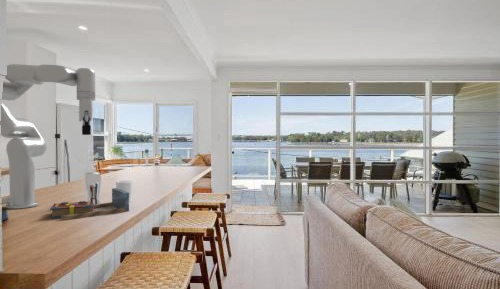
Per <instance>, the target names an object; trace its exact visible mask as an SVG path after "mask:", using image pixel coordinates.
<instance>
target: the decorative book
mask: <svg viewBox="0 0 500 289" xmlns="http://www.w3.org/2000/svg"><path fill="white" fill-rule="evenodd" d="M93 206H94V205H93V201H90V202H87V200H82V201H81V200H80V201H78V202H69V201H68V202H67V201H66V202H65V201H63V202H60V203H54V204H52V206H51V207H50V208H49V211H51V215H50V218H49V219H50V220H54V219H55V220H56V219H61V216H63V215H71V214H78V213H86V212H94V211H97V210H96V209H95V208H94V209H93Z"/></svg>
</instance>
